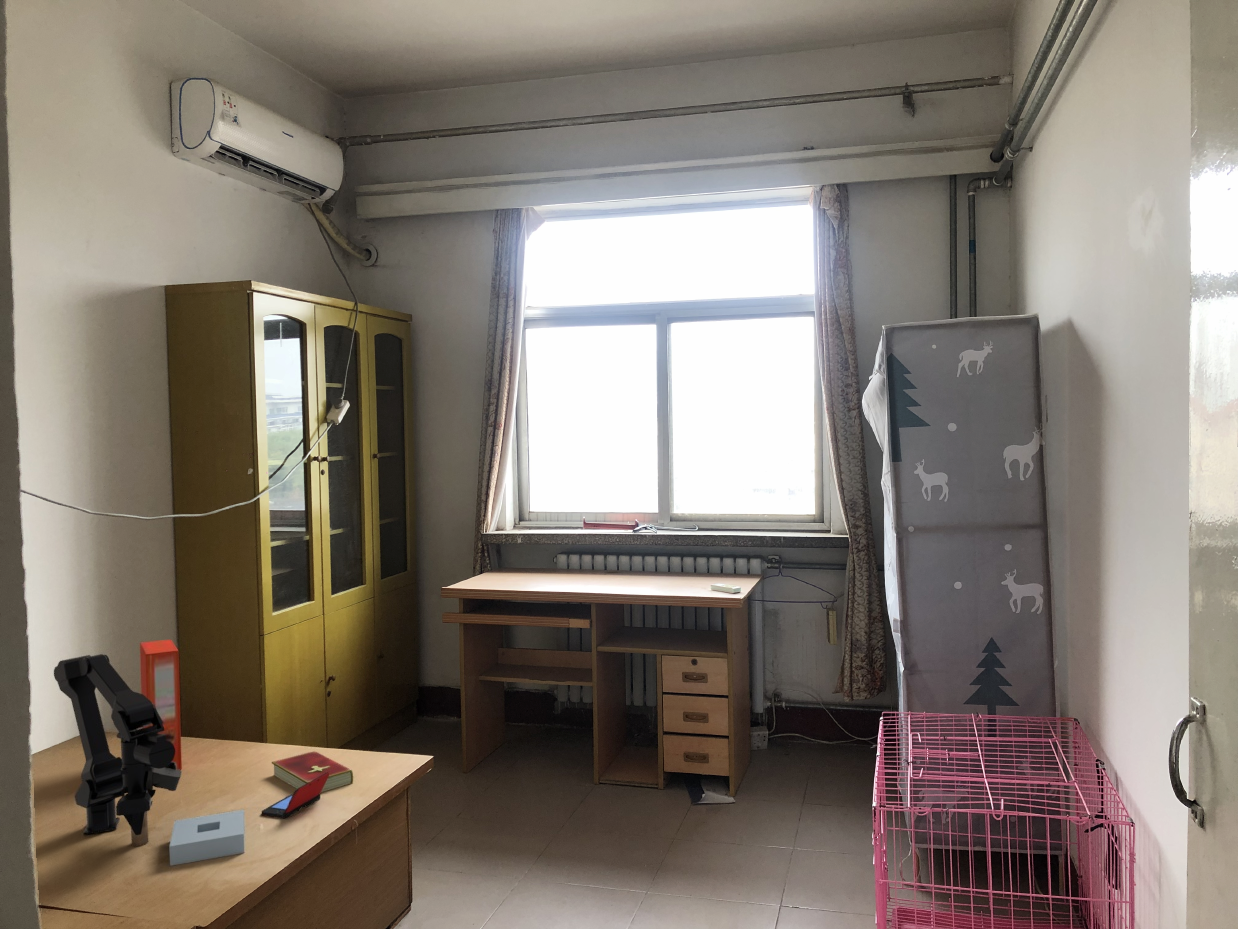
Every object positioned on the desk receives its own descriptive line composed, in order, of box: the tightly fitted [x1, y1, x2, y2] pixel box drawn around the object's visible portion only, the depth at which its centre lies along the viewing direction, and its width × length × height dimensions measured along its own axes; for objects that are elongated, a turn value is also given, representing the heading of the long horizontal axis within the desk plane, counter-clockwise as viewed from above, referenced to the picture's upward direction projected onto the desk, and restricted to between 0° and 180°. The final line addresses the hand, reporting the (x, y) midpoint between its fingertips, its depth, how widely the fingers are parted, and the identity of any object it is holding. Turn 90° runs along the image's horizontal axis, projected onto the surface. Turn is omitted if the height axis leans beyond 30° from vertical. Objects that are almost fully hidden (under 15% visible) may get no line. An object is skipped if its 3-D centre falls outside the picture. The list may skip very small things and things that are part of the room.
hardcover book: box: [271, 750, 354, 793], centre depth 234 cm, size 12×21×4 cm, turn 43°
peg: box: [130, 811, 149, 847], centre depth 198 cm, size 3×3×8 cm
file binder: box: [139, 639, 183, 771], centre depth 248 cm, size 8×17×32 cm, turn 32°
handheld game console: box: [261, 772, 330, 820], centre depth 215 cm, size 12×11×7 cm
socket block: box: [169, 809, 246, 867], centre depth 196 cm, size 14×14×4 cm
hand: (139, 831), depth 198 cm, fingers closed on peg, 3 cm apart
